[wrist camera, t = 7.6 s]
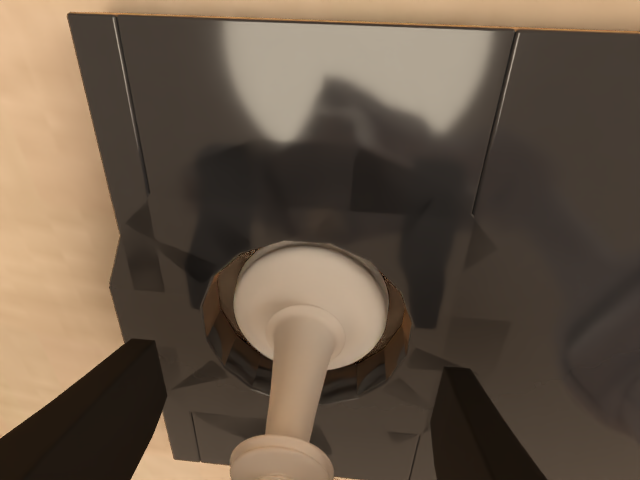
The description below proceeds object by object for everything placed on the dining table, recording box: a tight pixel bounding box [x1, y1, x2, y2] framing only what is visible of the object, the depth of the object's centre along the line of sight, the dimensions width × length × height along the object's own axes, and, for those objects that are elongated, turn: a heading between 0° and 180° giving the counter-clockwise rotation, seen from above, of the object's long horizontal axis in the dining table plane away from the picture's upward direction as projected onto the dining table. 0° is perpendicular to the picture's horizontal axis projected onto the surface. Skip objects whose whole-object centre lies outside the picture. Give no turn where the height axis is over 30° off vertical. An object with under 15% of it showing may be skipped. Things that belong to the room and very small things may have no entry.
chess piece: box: [230, 241, 389, 480], centre depth 9 cm, size 5×5×10 cm
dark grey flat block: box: [67, 12, 640, 480], centre depth 12 cm, size 19×15×2 cm
